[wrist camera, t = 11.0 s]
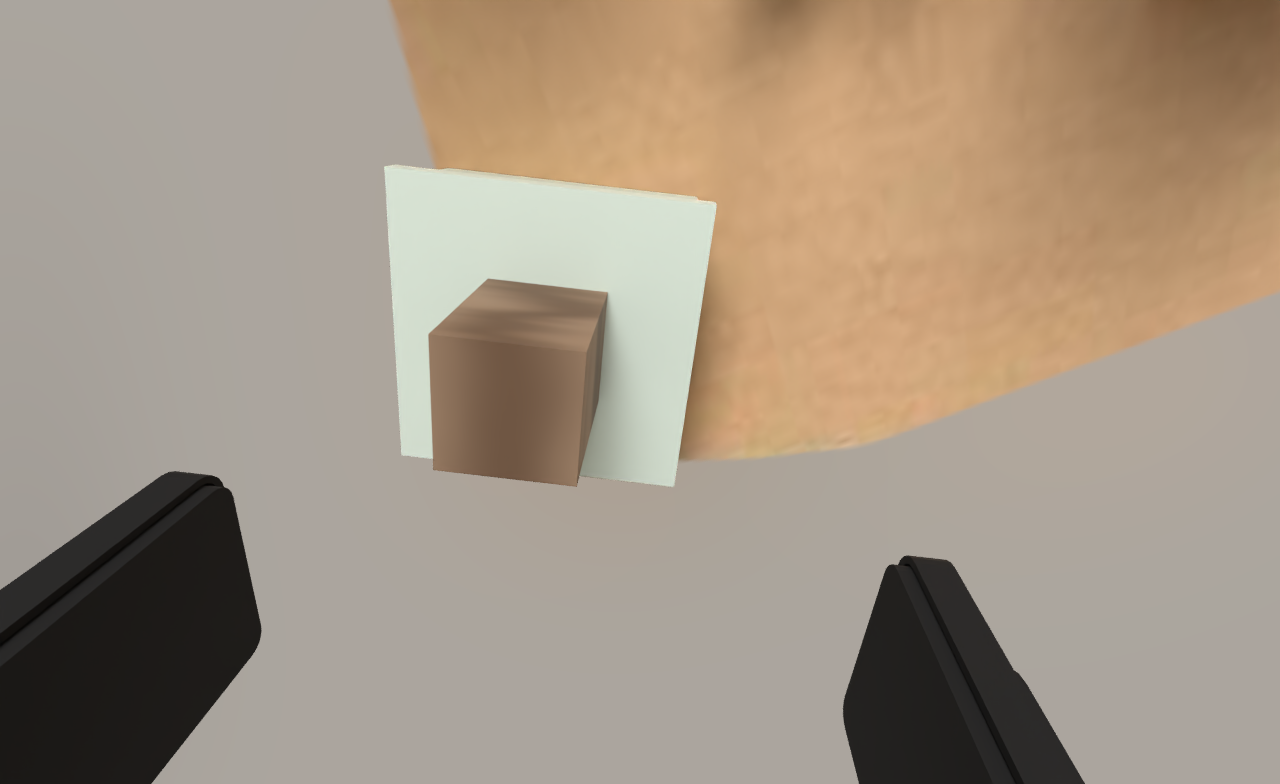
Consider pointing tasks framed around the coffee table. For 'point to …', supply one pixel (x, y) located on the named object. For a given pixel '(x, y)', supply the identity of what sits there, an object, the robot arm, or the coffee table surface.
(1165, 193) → the coffee table surface
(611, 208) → the sage box
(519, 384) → the walnut block
